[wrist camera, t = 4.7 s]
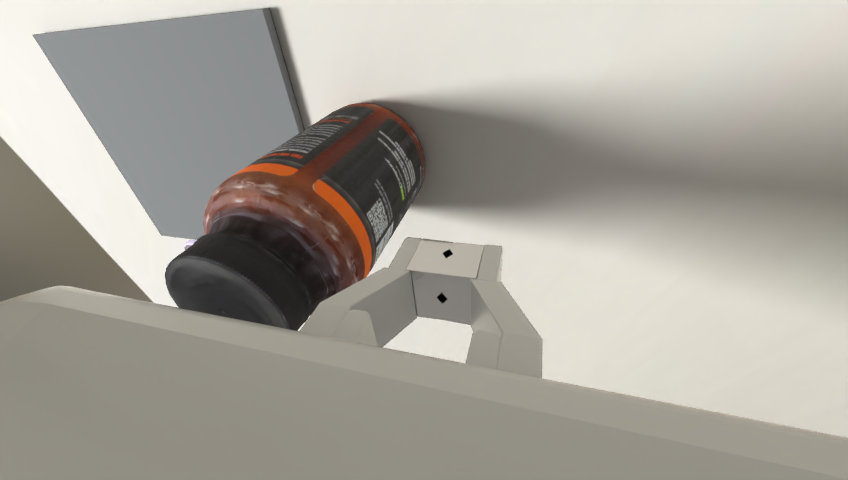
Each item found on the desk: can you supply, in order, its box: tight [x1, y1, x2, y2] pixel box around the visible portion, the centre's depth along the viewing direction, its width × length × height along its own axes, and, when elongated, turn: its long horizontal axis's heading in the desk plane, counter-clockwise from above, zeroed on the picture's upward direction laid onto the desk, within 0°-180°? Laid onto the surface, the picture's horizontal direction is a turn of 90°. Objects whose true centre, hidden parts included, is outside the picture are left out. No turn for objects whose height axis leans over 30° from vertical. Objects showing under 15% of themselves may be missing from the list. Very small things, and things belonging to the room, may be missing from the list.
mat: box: [33, 8, 304, 240], centre depth 22 cm, size 16×14×1 cm
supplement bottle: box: [165, 103, 425, 331], centre depth 14 cm, size 6×6×11 cm
